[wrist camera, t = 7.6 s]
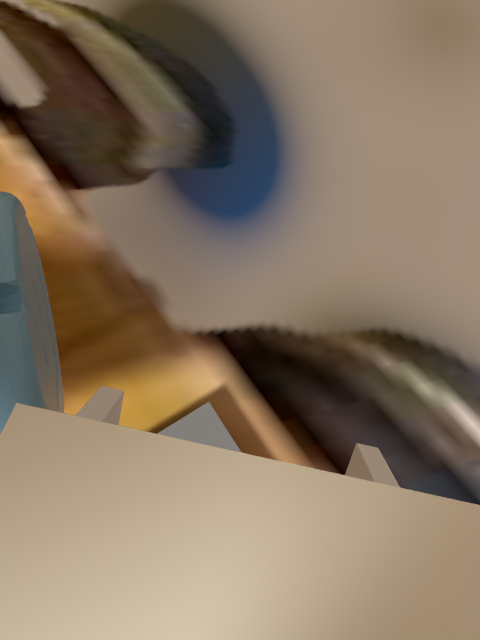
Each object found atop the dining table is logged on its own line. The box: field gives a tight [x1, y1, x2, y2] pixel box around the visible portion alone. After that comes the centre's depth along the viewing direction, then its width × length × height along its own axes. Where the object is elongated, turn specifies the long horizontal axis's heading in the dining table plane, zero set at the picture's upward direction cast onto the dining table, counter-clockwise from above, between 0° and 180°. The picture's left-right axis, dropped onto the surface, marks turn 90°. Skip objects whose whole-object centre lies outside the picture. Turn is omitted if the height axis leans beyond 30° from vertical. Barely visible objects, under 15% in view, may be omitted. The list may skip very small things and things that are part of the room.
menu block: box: [0, 403, 480, 640], centre depth 9 cm, size 4×8×10 cm, turn 79°
